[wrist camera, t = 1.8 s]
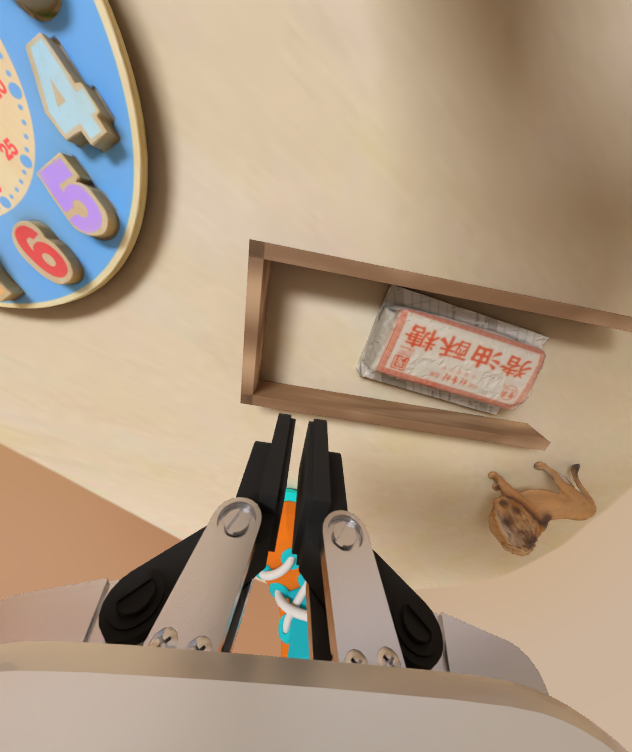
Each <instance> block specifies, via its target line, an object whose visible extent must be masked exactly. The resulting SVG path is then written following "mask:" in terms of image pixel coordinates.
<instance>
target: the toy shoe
mask: <svg viewBox="0 0 632 752" xmlns="http://www.w3.org/2000/svg"><path fill="white" fill-rule="evenodd" d="M296 497H297V490H294V489H288V488H286V493H285V499H284V505H283V510H282V515H281V521H280V526H279V532H278V537H277V542H276V548H275V552H270V551H269V552H268V558H267V563H266V568H265V569H264V570H262V571H261V572H260V573H259V574H258V575H257V577H258V578H260V579H262V580H265V581H266V582H267V583H268V584H269V586H270V593H271V595H272V596H273V597H275V599H276V602H277V604H278V606H279V611H280V617H281V620H280V622H279V636H280V638H281V657H286V658H298V659H309V642H308V623H307V605H306V581H305V579H304V578H303V577H302V575H301V574H300V572H299V565H296V560H297V555H296V554H292V541H293V530H294V519H295V508H296Z"/></svg>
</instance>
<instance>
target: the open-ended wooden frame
mask: <svg viewBox="0 0 632 752" xmlns="http://www.w3.org/2000/svg"><path fill="white" fill-rule="evenodd" d="M271 260H272V261H277V262H282V263H287V264H292V265H297V266H302V267H307V268H312V269H317V270H322V271H327V272H332V273H337V274H342V275H347V276H352V277H357V278H362V279H367V280H372V281H377V282H382V283H387V284H392V285H397V286H403V287H408V288H413V289H418V290H423V291H428V292H433V293H438V294H443V295H448V296H453V297H458V298H463V299H468V300H473V301H478V302H483V303H488V304H493V305H498V306H503V307H508V308H513V309H518V310H523V311H528V312H533V313H538V314H544V315H549V316H554V317H559V318H564V319H569V320H574V321H579V322H584V323H589V324H594V325H599V326H604V327H609V328H614V329H619V330H624V331H629V332H632V317H629V316H624V315H619V314H615V313H610V312H605V311H600V310H595V309H590V308H585V307H580V306H575V305H570V304H565V303H561V302H556V301H551V300H546V299H541V298H536V297H531V296H526V295H521V294H516V293H511V292H506V291H502V290H497V289H492V288H487V287H482V286H477V285H472V284H467V283H462V282H457V281H452V280H447V279H443V278H438V277H433V276H428V275H423V274H418V273H413V272H408V271H403V270H398V269H393V268H388V267H384V266H379V265H374V264H369V263H364V262H359V261H354V260H349V259H344V258H339V257H334V256H330V255H325V254H320V253H315V252H310V251H305V250H300V249H295V248H290V247H285V246H280V245H275V244H271V243H266V242H261V241H256V240H251V239H250V242H249V260H248V278H247V296H246V314H245V332H244V350H243V368H242V386H241V403H243V404H250V405H256V406H263V407H269V408H275V409H282V410H288V411H295V412H301V413H308V414H314V415H320V416H327V417H333V418H340V419H346V420H352V421H359V422H365V423H372V424H378V425H384V426H391V427H397V428H404V429H410V430H417V431H423V432H429V433H436V434H442V435H449V436H455V437H461V438H468V439H474V440H481V441H487V442H494V443H500V444H506V445H513V446H519V447H526V448H532V449H538V450H545V449H546V448H547V447H548V445H549V444H550V443H551V442H549V441H548V440H547V439H546V438H544V437H543V436H542V435H541V434H539V433H538V432H537V431H536V430H534V429H533V428H532V427H531V426H529V425H528V424H526V423H520V422H514V421H508V420H502V419H496V418H489V417H483V416H477V415H471V414H465V413H459V412H453V411H447V410H440V409H434V408H428V407H422V406H416V405H410V404H404V403H398V402H392V401H385V400H379V399H373V398H367V397H361V396H355V395H349V394H343V393H336V392H330V391H324V390H318V389H312V388H306V387H300V386H294V385H288V384H281V383H275V382H269V381H263V380H260V373H261V362H262V351H263V340H264V330H265V319H266V308H267V297H268V286H269V275H270V264H271Z"/></svg>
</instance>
